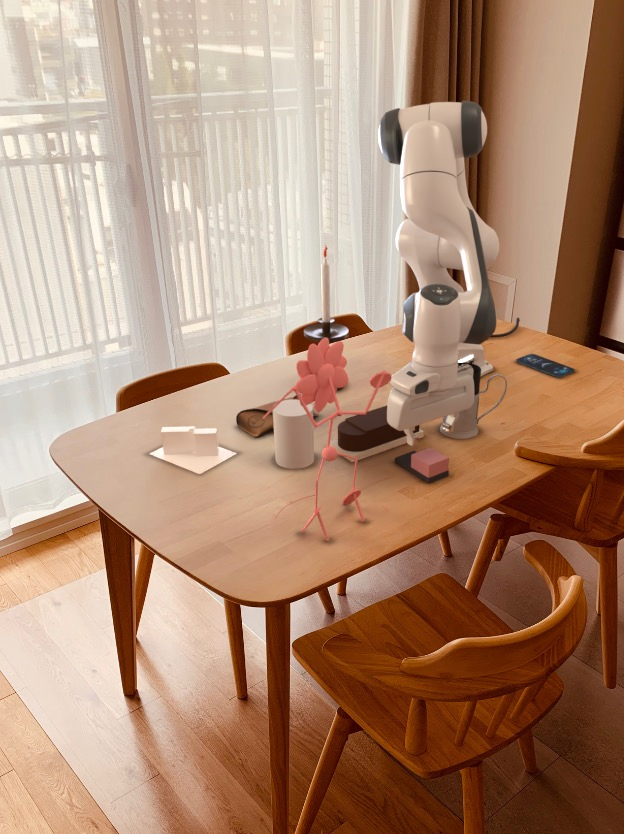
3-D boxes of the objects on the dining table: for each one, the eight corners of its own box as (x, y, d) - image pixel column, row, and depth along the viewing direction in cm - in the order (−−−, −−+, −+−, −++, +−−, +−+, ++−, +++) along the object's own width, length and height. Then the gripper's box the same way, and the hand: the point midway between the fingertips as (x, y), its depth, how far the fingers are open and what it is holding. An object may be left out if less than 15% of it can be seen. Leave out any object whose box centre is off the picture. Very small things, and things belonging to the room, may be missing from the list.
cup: (297, 446, 174) (295, 396, 168) (322, 460, 169) (320, 408, 163) (267, 458, 169) (264, 407, 163) (292, 472, 165) (289, 420, 158)
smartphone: (559, 376, 209) (514, 359, 218) (558, 378, 210) (514, 361, 219) (576, 369, 214) (532, 352, 223) (576, 371, 214) (531, 355, 223)
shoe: (399, 423, 185) (400, 393, 181) (423, 437, 180) (425, 406, 176) (329, 447, 174) (328, 416, 170) (352, 462, 169) (352, 430, 165)
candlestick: (352, 392, 199) (352, 249, 181) (309, 395, 197) (305, 251, 178) (343, 375, 208) (343, 237, 190) (302, 378, 206) (297, 239, 187)
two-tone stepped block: (394, 462, 169) (395, 444, 167) (414, 455, 172) (414, 437, 170) (428, 483, 162) (430, 465, 160) (448, 475, 165) (449, 457, 163)
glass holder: (438, 421, 187) (442, 360, 178) (499, 422, 187) (506, 361, 179) (441, 438, 179) (445, 376, 171) (504, 439, 179) (511, 377, 171)
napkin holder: (148, 454, 170) (144, 430, 167) (186, 434, 178) (183, 411, 175) (200, 474, 163) (197, 449, 160) (237, 452, 171) (235, 429, 168)
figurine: (397, 506, 154) (404, 332, 136) (296, 562, 138) (288, 372, 120) (342, 478, 163) (341, 310, 144) (241, 527, 147) (225, 345, 128)
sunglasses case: (256, 437, 176) (246, 408, 176) (242, 442, 182) (232, 414, 181) (321, 415, 187) (312, 388, 186) (306, 420, 192) (297, 394, 191)
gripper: (462, 357, 161) (457, 419, 168) (382, 379, 150) (381, 445, 157) (484, 366, 157) (478, 430, 164) (404, 390, 146) (401, 457, 153)
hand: (430, 437), depth 161 cm, fingers open, 8 cm apart
